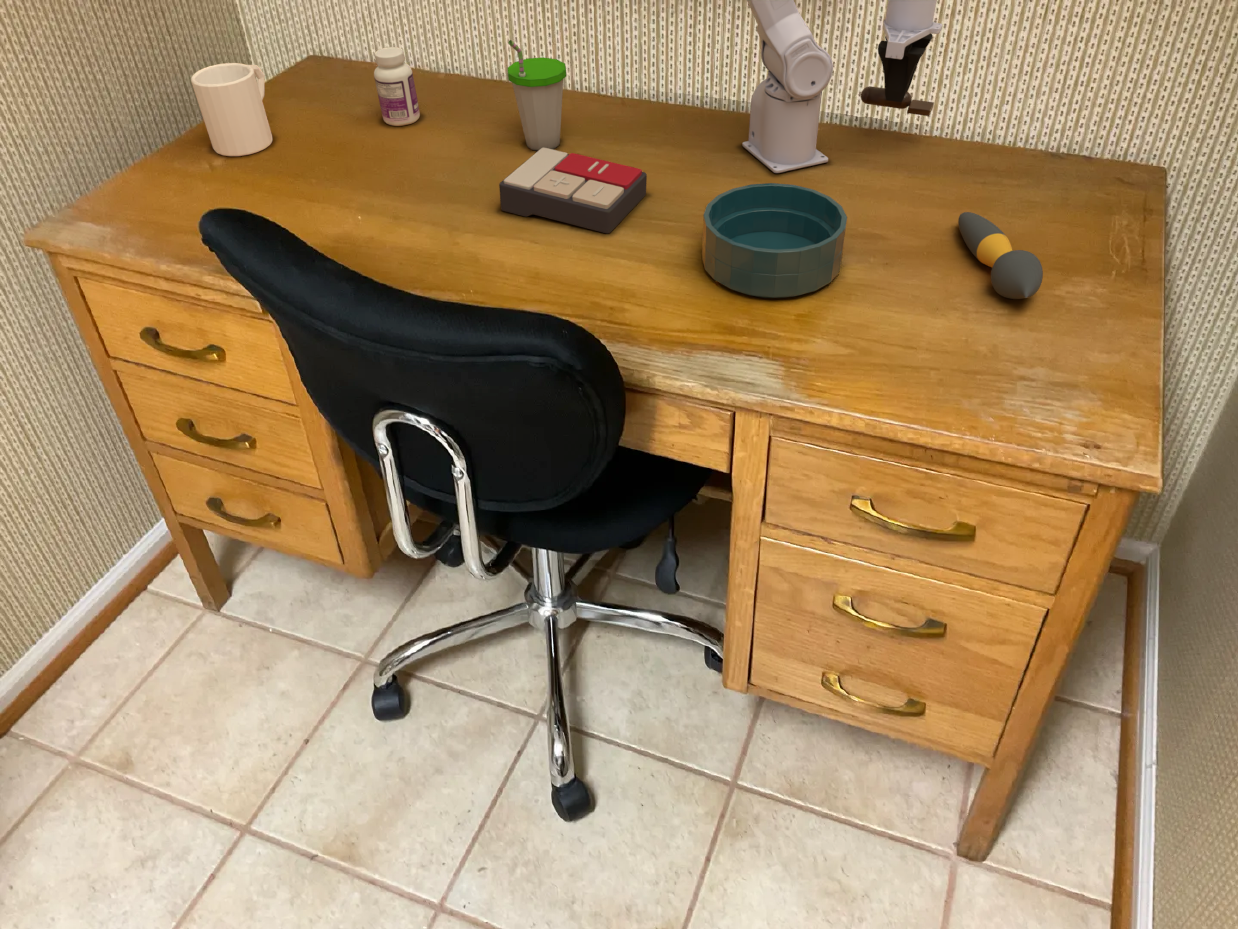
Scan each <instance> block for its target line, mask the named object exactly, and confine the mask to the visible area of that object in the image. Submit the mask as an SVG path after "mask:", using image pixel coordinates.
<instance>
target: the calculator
mask: <svg viewBox="0 0 1238 929" xmlns="http://www.w3.org/2000/svg"><path fill="white" fill-rule="evenodd" d="M647 178H648V173H646V172H645V171H643V169H641V168H638V167H634V166H629V165H626V164H621V163H616V162H614V161H613V162H612V161H608V160H605V159H600V158H596V157H592V156H587V155H584V154H579V153H574V152H570V153H567V152H564V151H561V150H556V149H548V148H541V149H540V150H538V151H536V152H535V153H534V154H532V155H531V156H530V157H529V158H527V159H526V160H525V161H524V162H522V163H521V165H519V166H518V167H516V169H514V170H513V171H512V172H511V173H509V174H508V176H506V177H505V178H504V179H502V180H501V181H500V182H499V183H498V187H499V200H500V209H501V211H502V212H506V213H510V214H513V215H518V216H522V217H526V218H528V217H530V216H532V215H535V216H538V217H542V218H546V219H549V220H553V221H557V222H561V223H565V224H568V225H572V226H576V227H580V228H584V229H587V230H591V231H595V232H600V233H603V234H611V233H612V232H613V231H614V229H615V228H616V227H618V225H620V223H622V221H623V220H624V219H625V218H626V217H627V216H628V215H629V213H630V212H632V210H634V208H635V207H636V206H637V205H638V204H639V203H640V202H641V201H642V200H643V199H644V198H645V197H646V195H647V182H648V181H647Z"/></svg>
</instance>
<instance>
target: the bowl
mask: <svg viewBox="0 0 1238 929" xmlns="http://www.w3.org/2000/svg"><path fill="white" fill-rule="evenodd" d="M847 222H848V216H847V214H846V212H845V210H844V208H843V206H842V204H840V203H839V202H837V201H836V200H835V199H833V198H832V197H831V196H829V195H827V194H825V193H822V192H820V191H818V190H817V189H813V188H809V187H804V186H802V185H801V186H800V185H796V184H789V183H776V182H768V183H766V182H765V183H752V184H746V185H742V186H739V187H734V188H731V189H729V190H726V191H724V192H722V193H719V194H717V195H716V196H715V197H714V198H713V199H711V200H710V201H709V202H708V203H707V204H706V207H705V210H704V212H703V214H702V247H701V259H702V263H703V267H704V270H705V272H706V273H707V274H708V275H709V276H710V277H711V278H712V279H713V280H714V281H715V282H718V283H719V284H721V285H722V286H724V287H726V288H727V289H730V290H732V291H734V292H736V293H741V294H743V295H746V296H751V297H758V298H763V299H764V298H766V299H785V298H793V297H798V296H803V295H806V294H809V293H812V292H815V291H817V290H819V289H821V288H823V287H825V286H827V285H828V284H830V283H831V282H832V281H834V279H835V278H836V277H837V275H839V273H840V271H841V265H842V258H843V252H844V251H843V250H844V244H845V236H846V229H847Z"/></svg>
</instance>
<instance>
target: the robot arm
mask: <svg viewBox="0 0 1238 929" xmlns="http://www.w3.org/2000/svg"><path fill="white" fill-rule="evenodd" d="M937 1H938V0H887V6H886V12H885V18H884V19H883V22H882V30H883V34H884V39H885V40H880V42H879V44H878V46H877V53H878V56H879V58H880V61H881V65H882V70H883V78H884V82H883V83H884V88H885V97H886V100H888V101H895V102H902V100H903V98H904V96H905V94H906V91H907V92H909V89H910V87H911V84H912V82H913V79H914V76H915V73H916V70H917V67H918V65H919V62H920V61H921V60H920V59H921V58H922V57H923V55H924V54H925V52H926V50H927V47H928V45H930V43H931V42H932V39H933V35H939V34H940V33H941V32H942V29H943V24H942V23H940V22H935V21H934V19H935V14H936V13H935V12H936V8H937ZM746 2H747V4H748V6H749V8H750V11H751V13H752V15H753V18H754V20H755V22H756V24H757V25H756V32H757V34H758V36H759V40H760V60H761V62H762V65H763V66H764V67H765V68H766V70H768V71H767V76H766V78H765V79H764V80H762V81H761V82H759V84H757V86H756V87H755V89H754V91H753V93H752V95H751V99H750V112H749V126H748V140H747V141H743V142H742V145H741V146H742V147H743V148H744V149H745V150H747V151H748V152H749V153H750V154H751V155H753V157H754V158H756V159H757V160H758V161H759V162H760V163H762V164H763V165H764V166H765V167H767V168H768V169H769V170H770V171H772V172H773V173H774V174H780V173H785V172H789V171H795V170H798V169H803V168H807V167H811V166H816V165H821V164H824V163H828V162H829V157H828V156H826V155H825V153H824V154H823V152H821V151H819V150H818V149H817V142H818V133H819V124H820V115H821V106H822V96H823V91H824V90H825V89H826V88H827V87H828V85H829V83H830V82H831V79H832V76H833V71H834V64H833V60H832V56H831V55H830V53H829V52H828V51H827V50H825V49H824V48H823V47H822V46H820V45H819V44H818V42H816V40H815V37H814V34H813V33H812V31H811V30H810V28H809V26H808V25H807V23H806V21H805V19H804V18H803V17H802V15H801V13H800V11H799V9H798V7H797V5H796V2H795V0H746Z"/></svg>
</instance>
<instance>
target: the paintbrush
mask: <svg viewBox="0 0 1238 929" xmlns="http://www.w3.org/2000/svg"><path fill="white" fill-rule="evenodd" d="M957 223H958V224H957V225H958V229H959V232H960V234H961V237H962V239H963V241H964V243H965V244H966V247H967V248H968V249H969V251H970V252H971V253H972V254H973V256H974V257H975V258H976V260H978V261H979V262H980V263H981V264H983V265H985V266H988V267H989V268H991V270H990V282H991V285H992V288H993V289H994V291H995V292H996V293H997V294H998V295H1000V296H1001V297H1003V298H1005V299H1011V300H1012V299H1013V300H1021V299H1027V298H1031V297H1033V296H1034V295H1035V294H1036V293H1037V292H1038V291H1039V289H1040V288H1041V285H1042V282H1043V278H1044V277H1043V276H1044V270H1043V266H1042V262H1041V261H1040V259H1039V258H1038V257H1037V256H1036V255H1035V254H1034V253H1032V252H1031V251H1028V250H1023V249H1022V250H1021V249H1014V250H1013V247H1012V244H1011V242H1010V240H1009V238H1008V236H1007V235H1006V234H1005V233H1004V232H1003V231H1002V229H1000V228H999V226H997V225H996V224H994V223H993V222H992V221H990V220H989V219H987V218H985V217H984V216H982V215H980V214H978V213H974V212H972V211H965V212H961V213H960V214H959V216H958V220H957Z"/></svg>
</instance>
